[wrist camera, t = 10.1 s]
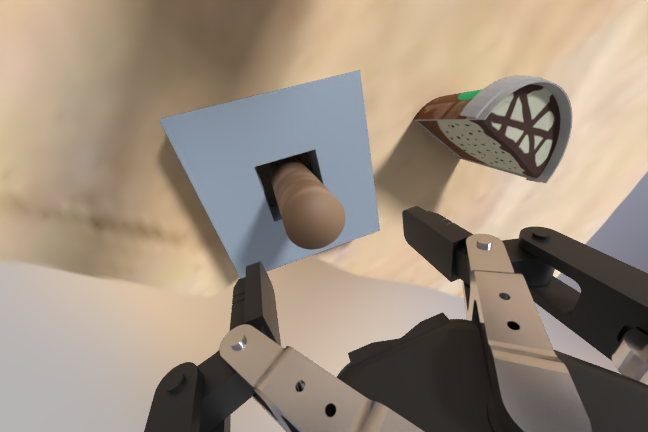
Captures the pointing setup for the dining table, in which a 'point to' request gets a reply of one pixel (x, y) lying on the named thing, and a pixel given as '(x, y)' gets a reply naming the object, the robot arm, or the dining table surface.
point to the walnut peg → (306, 205)
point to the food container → (504, 125)
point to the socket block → (271, 145)
